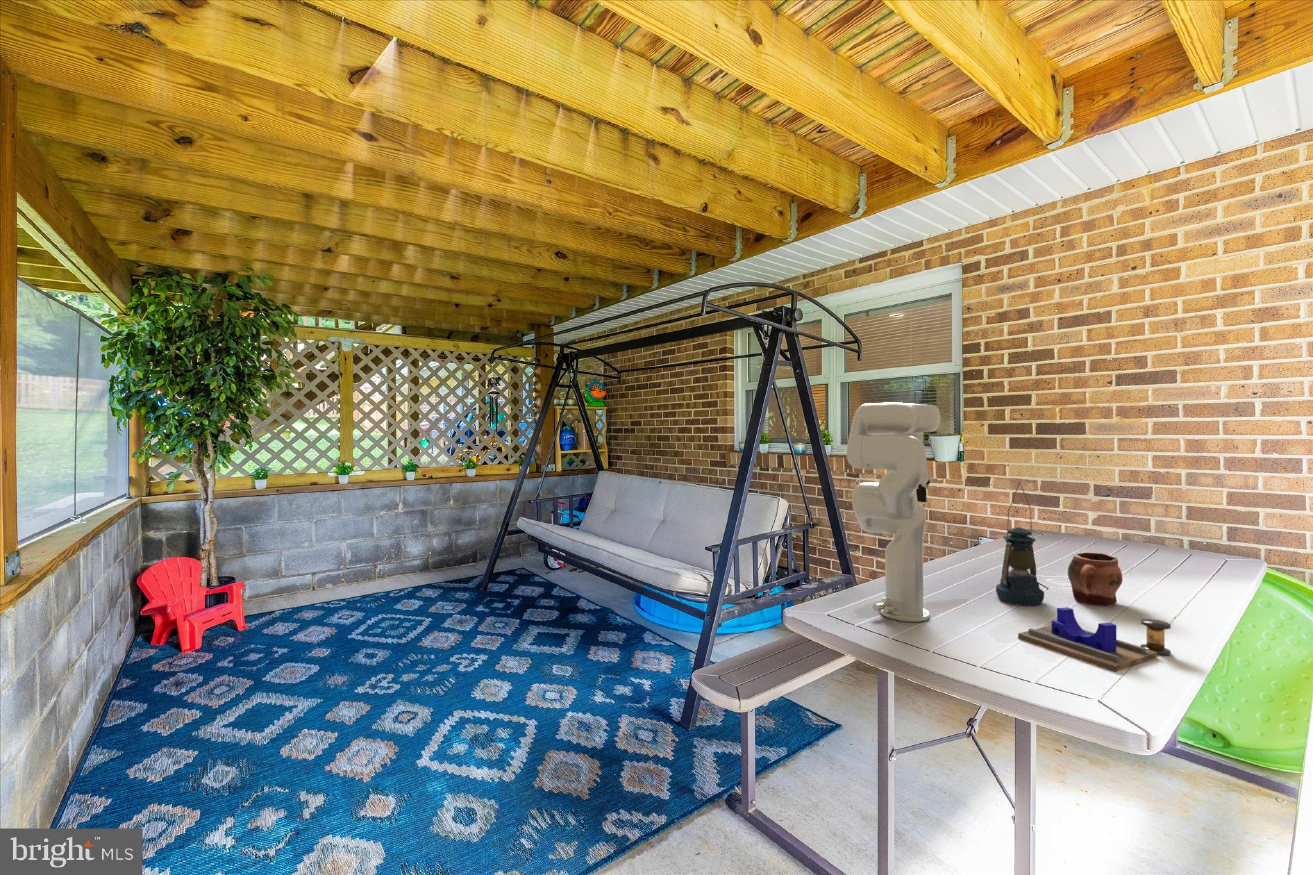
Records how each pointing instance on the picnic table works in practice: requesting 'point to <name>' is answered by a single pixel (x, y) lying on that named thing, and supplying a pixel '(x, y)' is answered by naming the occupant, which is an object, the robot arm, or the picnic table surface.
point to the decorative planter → (1095, 578)
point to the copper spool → (1156, 636)
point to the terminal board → (1090, 649)
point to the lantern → (1019, 568)
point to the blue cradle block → (1073, 632)
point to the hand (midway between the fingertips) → (909, 502)
